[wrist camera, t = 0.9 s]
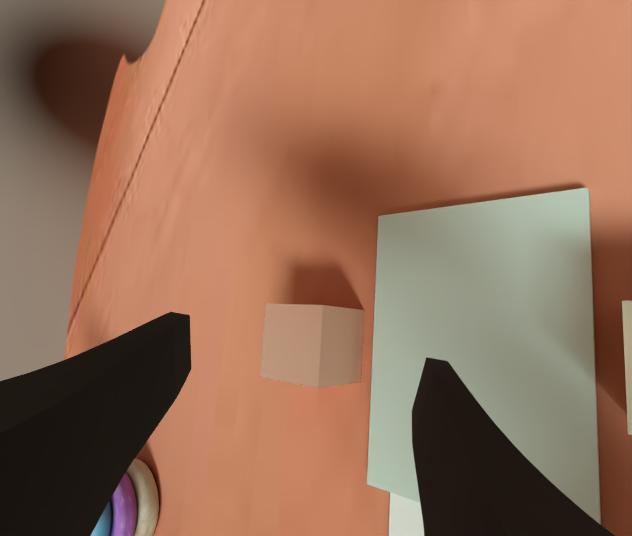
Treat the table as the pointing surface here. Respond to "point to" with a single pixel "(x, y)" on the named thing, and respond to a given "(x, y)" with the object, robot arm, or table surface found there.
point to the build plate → (491, 332)
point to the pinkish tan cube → (312, 344)
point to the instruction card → (405, 517)
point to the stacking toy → (131, 505)
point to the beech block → (628, 358)
